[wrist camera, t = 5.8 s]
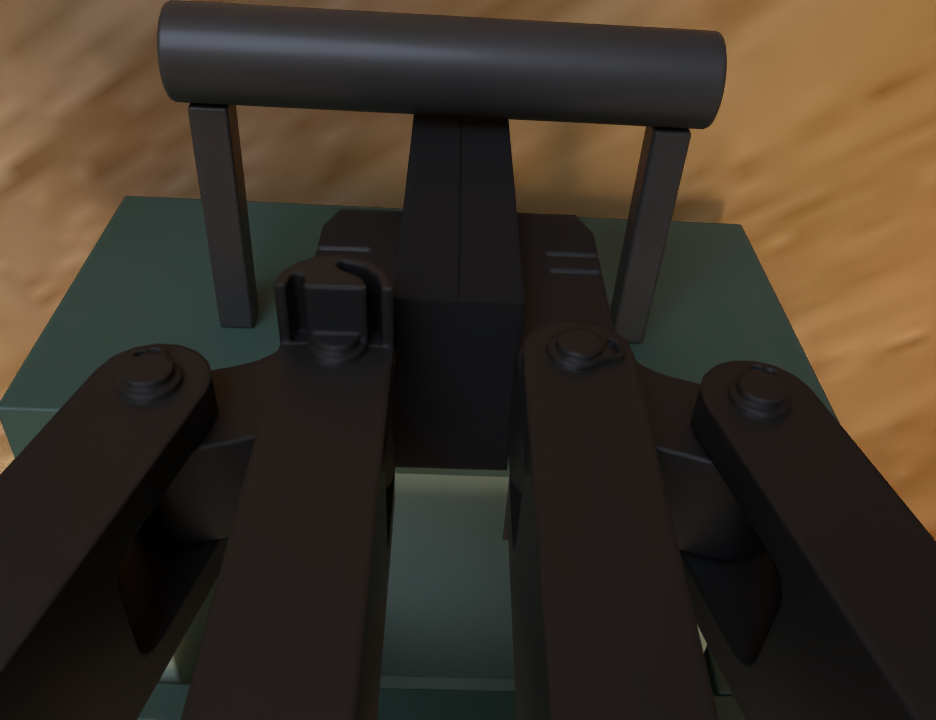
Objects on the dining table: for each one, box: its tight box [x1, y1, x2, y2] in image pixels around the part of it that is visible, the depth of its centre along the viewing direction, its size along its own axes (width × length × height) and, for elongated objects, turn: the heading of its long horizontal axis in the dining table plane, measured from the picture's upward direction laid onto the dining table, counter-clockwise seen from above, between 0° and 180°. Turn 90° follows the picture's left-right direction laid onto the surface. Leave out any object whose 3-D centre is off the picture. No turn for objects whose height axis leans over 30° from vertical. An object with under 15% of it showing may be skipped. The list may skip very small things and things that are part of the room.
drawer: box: [0, 0, 840, 691], centre depth 20 cm, size 23×14×7 cm, turn 177°
